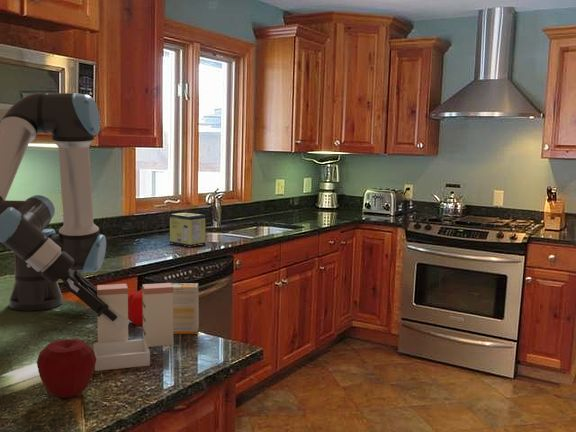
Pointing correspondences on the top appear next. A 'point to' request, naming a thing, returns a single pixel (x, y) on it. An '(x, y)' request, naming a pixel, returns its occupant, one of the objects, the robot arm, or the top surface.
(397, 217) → the top surface
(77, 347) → the apple
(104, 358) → the tray
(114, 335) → the stub
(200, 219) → the protein box
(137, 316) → the tomato
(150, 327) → the block
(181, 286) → the supplement box
